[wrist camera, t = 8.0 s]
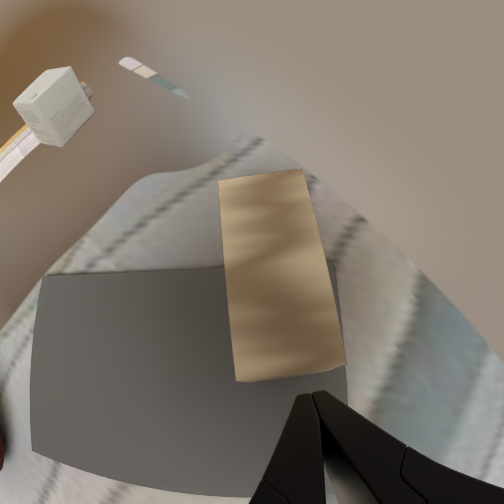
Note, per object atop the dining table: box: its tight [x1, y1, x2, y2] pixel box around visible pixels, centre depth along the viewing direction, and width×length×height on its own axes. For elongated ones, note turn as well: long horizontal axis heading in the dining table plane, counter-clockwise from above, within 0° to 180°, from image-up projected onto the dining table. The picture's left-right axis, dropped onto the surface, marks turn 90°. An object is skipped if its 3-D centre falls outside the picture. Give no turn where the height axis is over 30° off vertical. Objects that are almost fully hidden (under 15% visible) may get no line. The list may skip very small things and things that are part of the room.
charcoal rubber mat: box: [30, 260, 348, 498], centre depth 16 cm, size 22×14×1 cm, turn 92°
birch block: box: [218, 169, 347, 383], centre depth 15 cm, size 4×4×10 cm
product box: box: [13, 66, 95, 147], centre depth 25 cm, size 6×6×7 cm
